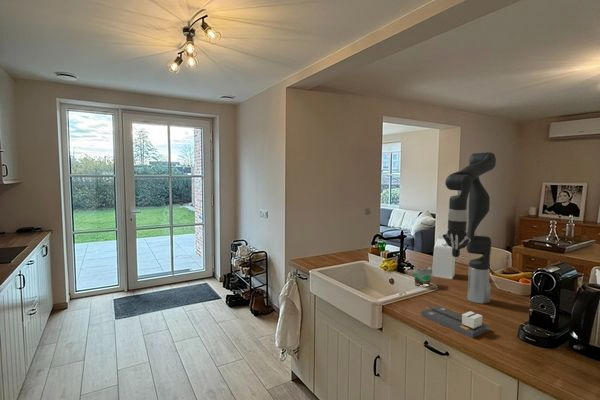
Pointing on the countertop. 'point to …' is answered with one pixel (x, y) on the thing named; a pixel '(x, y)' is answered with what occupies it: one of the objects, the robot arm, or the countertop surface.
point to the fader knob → (472, 319)
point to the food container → (422, 276)
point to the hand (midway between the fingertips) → (455, 256)
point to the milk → (443, 260)
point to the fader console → (453, 321)
